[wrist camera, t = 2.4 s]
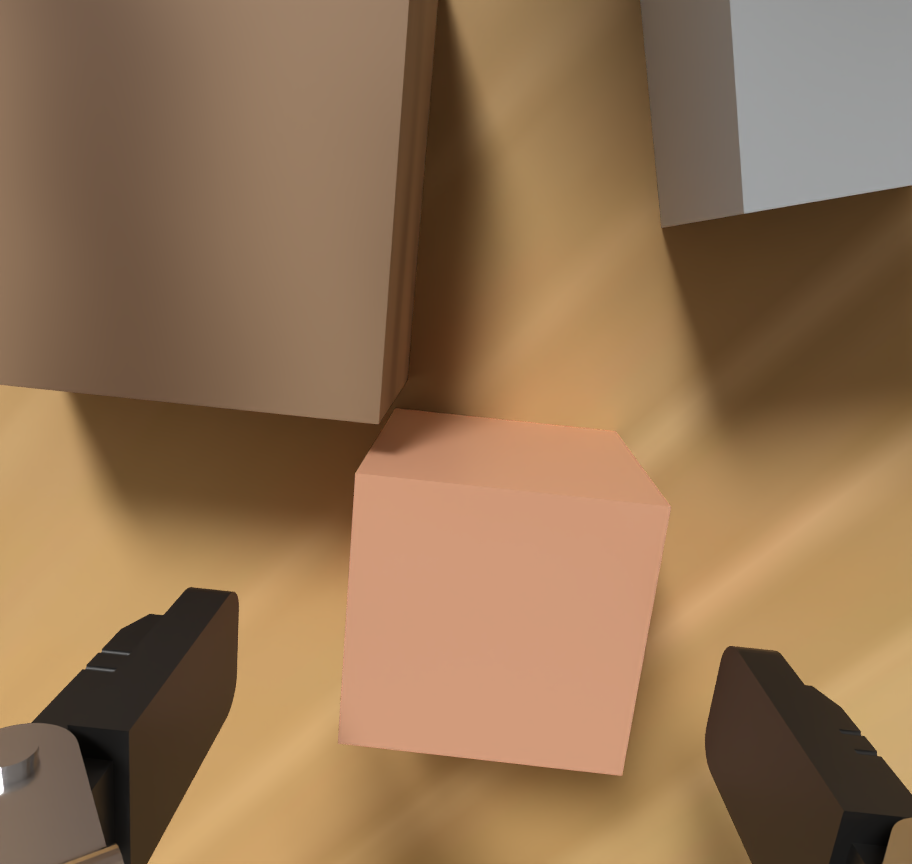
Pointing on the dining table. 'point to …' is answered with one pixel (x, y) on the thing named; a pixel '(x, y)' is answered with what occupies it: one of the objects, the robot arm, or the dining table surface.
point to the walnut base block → (213, 199)
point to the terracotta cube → (499, 591)
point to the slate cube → (776, 102)
